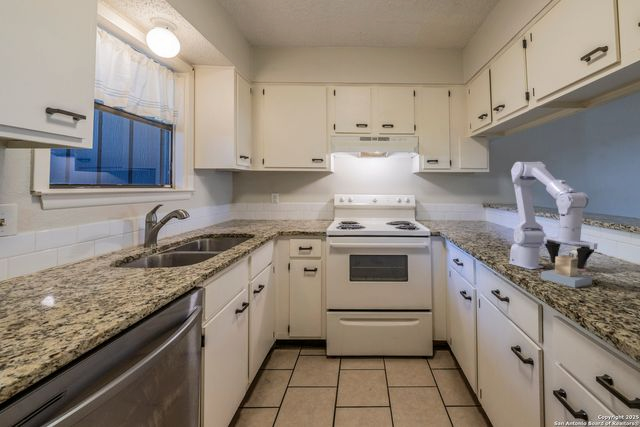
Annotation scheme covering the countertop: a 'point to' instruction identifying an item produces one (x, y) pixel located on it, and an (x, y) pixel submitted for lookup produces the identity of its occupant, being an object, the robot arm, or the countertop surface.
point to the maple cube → (566, 265)
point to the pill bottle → (576, 256)
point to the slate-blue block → (567, 279)
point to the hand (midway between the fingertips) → (566, 265)
